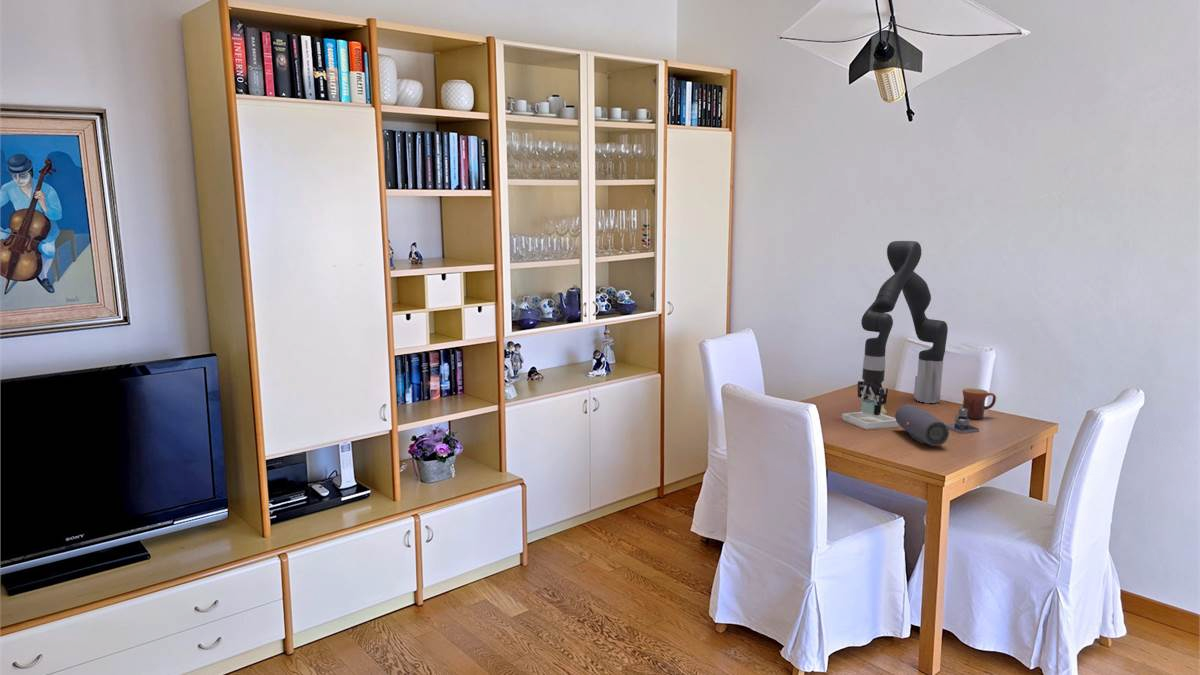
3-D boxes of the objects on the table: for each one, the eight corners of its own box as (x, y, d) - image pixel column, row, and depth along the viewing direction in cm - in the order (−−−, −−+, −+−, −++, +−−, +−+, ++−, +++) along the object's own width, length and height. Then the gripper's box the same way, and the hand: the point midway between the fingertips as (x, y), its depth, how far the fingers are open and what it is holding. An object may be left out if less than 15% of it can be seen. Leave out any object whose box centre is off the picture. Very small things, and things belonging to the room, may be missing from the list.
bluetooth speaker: (892, 430, 293) (894, 402, 291) (917, 430, 293) (920, 402, 292) (921, 449, 270) (924, 420, 269) (949, 449, 271) (951, 420, 269)
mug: (964, 420, 307) (966, 393, 306) (956, 413, 316) (959, 387, 314) (998, 421, 306) (1000, 394, 304) (989, 415, 315) (991, 388, 313)
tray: (842, 419, 305) (842, 413, 305) (873, 416, 310) (873, 410, 310) (866, 430, 292) (867, 423, 292) (898, 426, 297) (899, 420, 297)
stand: (944, 427, 297) (946, 407, 296) (961, 425, 300) (963, 405, 298) (961, 433, 290) (963, 412, 288) (978, 431, 292) (980, 410, 291)
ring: (857, 410, 302) (858, 399, 302) (874, 408, 305) (875, 398, 304) (869, 414, 296) (869, 403, 296) (885, 413, 299) (886, 402, 298)
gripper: (852, 364, 303) (849, 408, 306) (878, 372, 290) (875, 418, 293) (869, 363, 306) (866, 407, 309) (895, 370, 292) (892, 416, 295)
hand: (870, 412), depth 301 cm, fingers closed on ring, 6 cm apart
